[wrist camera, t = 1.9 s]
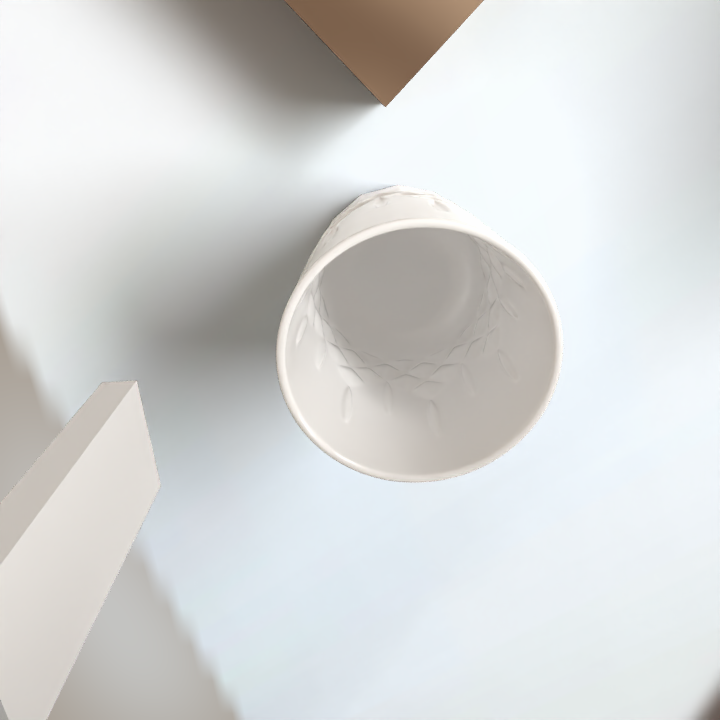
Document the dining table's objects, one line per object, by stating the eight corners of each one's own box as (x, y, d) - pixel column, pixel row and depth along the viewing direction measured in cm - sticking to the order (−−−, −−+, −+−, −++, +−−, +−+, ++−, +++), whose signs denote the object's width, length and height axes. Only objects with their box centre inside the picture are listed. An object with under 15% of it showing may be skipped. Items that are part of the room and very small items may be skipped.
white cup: (412, 126, 25) (444, 151, 16) (530, 276, 27) (618, 375, 18) (265, 258, 27) (215, 349, 18) (387, 387, 29) (399, 527, 20)
